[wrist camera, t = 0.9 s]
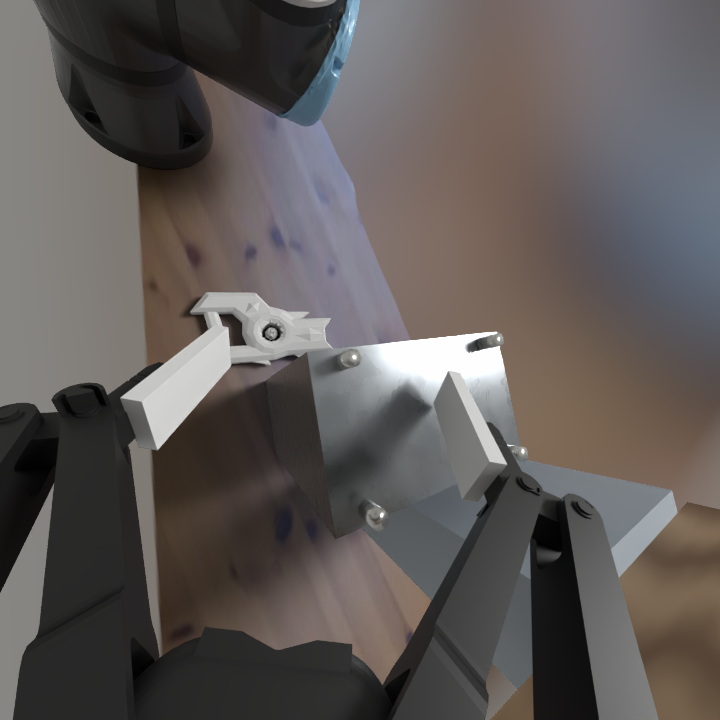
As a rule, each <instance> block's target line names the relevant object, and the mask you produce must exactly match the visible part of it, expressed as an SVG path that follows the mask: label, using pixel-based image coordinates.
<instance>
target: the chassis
mask: <svg viewBox="0 0 720 720" xmlns="http://www.w3.org/2000/svg"><path fill="white" fill-rule="evenodd" d="M503 343H504V339H503V336H502V335H501V334H500V333H497V332H492V333H482V334H472V335H463V336H453V337H444V338H434V339H424V340H414V341H405V342H395V343H385V344H376V345H366V346H357V347H347V348H337V349H328V350H318V351H309V352H306V353H304V354H303V355H302V356H300V357H299V358H297V359H296V360H294V361H293V362H292V363H290V364H289V365H287V366H286V367H284V368H283V369H282V370H280V371H279V372H277V373H276V374H275V375H273V376H272V377H270V378H269V379H267V380H266V388H267V396H268V403H269V410H270V417H271V424H272V431H273V439H274V446H275V453H276V455H277V456H278V458H279V459H280V461H281V462H282V463H283V465H284V466H285V468H286V469H287V470H288V472H289V473H290V475H291V476H292V478H293V479H294V480H295V482H296V483H297V485H298V486H299V488H300V489H301V490H302V492H303V493H304V495H305V496H306V497H307V499H308V500H309V502H310V503H311V505H312V506H313V507H314V509H315V510H316V512H317V513H318V514H319V516H320V517H321V519H322V520H323V522H324V523H325V524H326V526H327V527H328V529H329V530H330V531H331V533H332V534H333V536H334V537H335V539H337V538H339V537H341V536H343V535H346V534H348V533H350V532H352V531H354V530H356V529H359V528H361V527H363V526H365V525H367V524H369V525H370V526H371V527H372V528H373V529H374V530H376V531H381V530H383V529H384V528H385V527H386V526H387V524H388V515H389V514H392V513H394V512H396V511H398V510H400V509H403V508H405V507H407V506H409V505H411V504H414V503H416V502H418V501H420V500H422V499H425V498H427V497H429V496H431V495H433V494H436V493H438V492H440V491H442V490H444V489H446V488H449V487H451V486H453V485H455V484H457V481H456V478H455V474H454V471H453V468H452V464H451V461H450V458H449V454H448V451H447V448H446V444H445V441H444V438H443V434H442V431H441V428H440V424H439V421H438V418H437V414H436V411H435V408H434V404H433V403H434V400H435V398H436V396H437V394H438V392H439V390H440V387H441V385H442V383H443V381H444V379H445V377H446V374H447V372H448V370H449V371H454V372H459V373H460V374H461V376H462V377H463V379H464V381H465V383H466V385H467V387H468V389H469V391H470V393H471V395H472V397H473V399H474V401H475V403H476V405H477V407H478V409H479V411H480V412H481V414H482V416H483V418H484V420H485V422H490V423H492V424H493V425H494V426H495V427H496V428H497V429H498V430H499V431H500V433H501V434H502V436H503V438H504V441H505V442H506V443H507V445H508V448H509V449H510V450H511V452H512V454H513V456H514V458H515V459H516V460H518V461H522V462H525V461H526V460H527V458H528V452H527V449H526V448H525V447H521V446H520V441H519V436H518V431H517V427H516V422H515V418H514V412H513V408H512V403H511V398H510V394H509V389H508V384H507V379H506V375H505V370H504V366H503V360H502V356H501V351H500V346H502V345H503Z"/></svg>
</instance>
